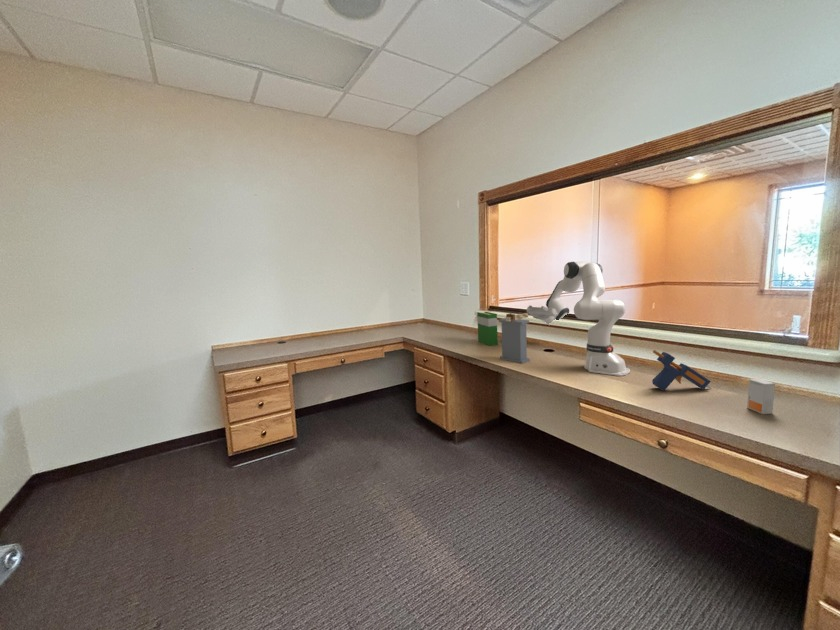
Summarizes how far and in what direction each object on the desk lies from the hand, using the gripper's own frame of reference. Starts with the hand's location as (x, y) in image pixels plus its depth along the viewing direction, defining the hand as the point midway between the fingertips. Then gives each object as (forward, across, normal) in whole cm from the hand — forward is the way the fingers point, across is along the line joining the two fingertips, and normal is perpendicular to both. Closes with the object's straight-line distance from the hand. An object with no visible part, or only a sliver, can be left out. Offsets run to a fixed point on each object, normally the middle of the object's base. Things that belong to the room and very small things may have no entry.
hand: (535, 306), depth 232 cm
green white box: (-17, +44, -26) cm, 54 cm away
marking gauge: (+16, 0, -15) cm, 22 cm away
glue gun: (+1, -86, -37) cm, 94 cm away
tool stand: (+6, 0, -40) cm, 40 cm away
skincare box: (+8, -113, -41) cm, 120 cm away
